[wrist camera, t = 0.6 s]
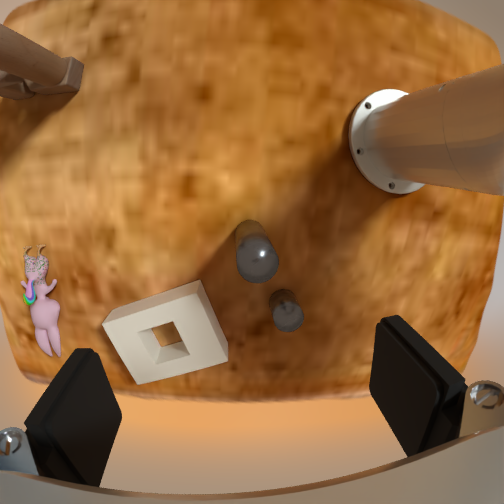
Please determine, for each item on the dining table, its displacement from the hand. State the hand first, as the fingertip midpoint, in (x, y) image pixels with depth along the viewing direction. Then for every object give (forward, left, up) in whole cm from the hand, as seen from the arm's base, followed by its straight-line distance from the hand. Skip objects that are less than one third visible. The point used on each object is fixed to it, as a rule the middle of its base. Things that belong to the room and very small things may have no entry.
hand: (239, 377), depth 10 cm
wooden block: (+15, -26, -26) cm, 40 cm away
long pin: (-2, +1, -26) cm, 26 cm away
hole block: (+11, +9, -26) cm, 30 cm away
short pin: (-3, +10, -26) cm, 28 cm away
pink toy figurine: (+26, 0, -26) cm, 37 cm away
